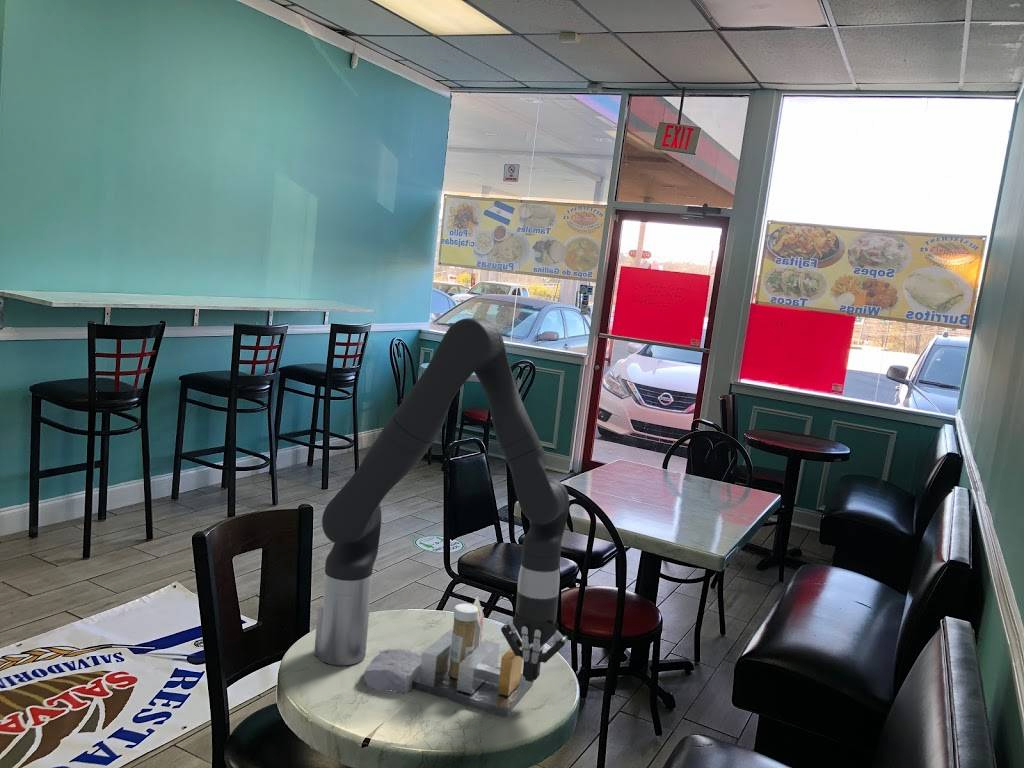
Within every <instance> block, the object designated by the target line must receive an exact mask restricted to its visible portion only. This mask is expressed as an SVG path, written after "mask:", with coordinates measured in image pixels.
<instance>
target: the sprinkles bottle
mask: <svg viewBox="0 0 1024 768" xmlns="http://www.w3.org/2000/svg"><path fill="white" fill-rule="evenodd" d="M477 618H478V608H477V607H476V606H474V605H473V604H471V603H459V604H456V605H455V606H454V609H453V627H452V630H453V633H452V643H451V654H450V668H449V671H448V673H449V675H450V676H451V677H453V678H456V679H458V672H459V664H460V663H461V662H462V661H463V660H464V659H465V658H466V657H467V656H468V655H470V654H471V653H472V652H473V651H474V640H475V627H476V620H477Z"/></svg>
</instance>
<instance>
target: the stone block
mask: <svg viewBox="0 0 1024 768" xmlns="http://www.w3.org/2000/svg"><path fill="white" fill-rule="evenodd" d="M421 661H422V653H419V652H416V651H412V650H410V649H405V648H389V649H384V650H382V651H379V653H378V655H376V656H374V658H372V659H371V661H370V662H369V664H367V666H366V668H365V670H364V673H363V680H364V684H365V685H366V687H368V688H372V689H374V690H377V689H379V690H380V691H385V690H392V691H391V692H393V691H396V692H395V693H400V692H402V693H401V694H405V693H406V694H408V693H409V692H410V691H411V690H410V689H412V681H413V680H414V679H415V678H416V677H418V676H419V675H420V672H421Z"/></svg>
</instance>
